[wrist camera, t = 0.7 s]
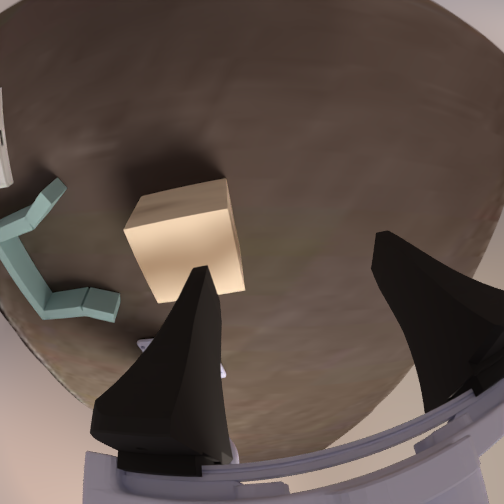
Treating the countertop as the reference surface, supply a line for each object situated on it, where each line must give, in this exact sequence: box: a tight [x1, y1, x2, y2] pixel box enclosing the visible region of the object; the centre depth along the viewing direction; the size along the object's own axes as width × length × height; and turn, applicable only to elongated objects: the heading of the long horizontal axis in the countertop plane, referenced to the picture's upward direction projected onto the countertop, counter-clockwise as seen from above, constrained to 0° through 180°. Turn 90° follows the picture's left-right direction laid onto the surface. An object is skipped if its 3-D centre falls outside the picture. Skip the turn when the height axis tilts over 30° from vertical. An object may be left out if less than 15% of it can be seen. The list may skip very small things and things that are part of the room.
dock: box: [0, 177, 120, 322], centre depth 19 cm, size 13×9×2 cm
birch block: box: [124, 178, 245, 303], centre depth 18 cm, size 6×6×4 cm
